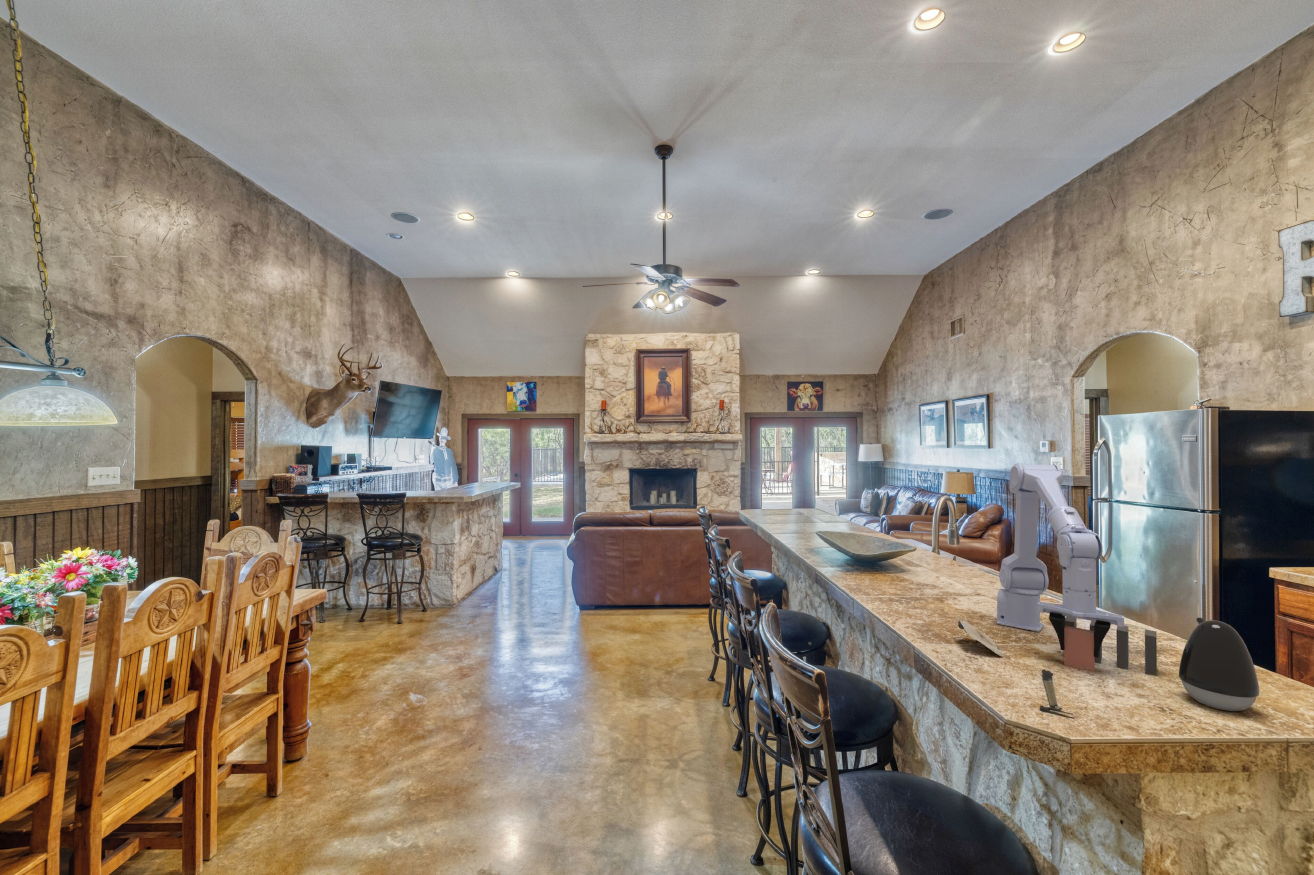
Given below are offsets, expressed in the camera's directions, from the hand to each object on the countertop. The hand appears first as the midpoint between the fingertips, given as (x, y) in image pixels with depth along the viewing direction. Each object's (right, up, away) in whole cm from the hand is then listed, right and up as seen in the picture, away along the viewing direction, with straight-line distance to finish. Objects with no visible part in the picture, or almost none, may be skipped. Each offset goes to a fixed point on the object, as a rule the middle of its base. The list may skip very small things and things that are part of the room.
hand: (1079, 652), depth 115 cm
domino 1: (+4, -3, +7) cm, 9 cm away
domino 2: (+7, -3, +4) cm, 9 cm away
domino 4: (+14, -3, -2) cm, 14 cm away
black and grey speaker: (+12, -3, -17) cm, 21 cm away
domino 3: (+10, -3, +1) cm, 11 cm away
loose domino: (0, -3, 0) cm, 3 cm away
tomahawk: (-15, -3, -14) cm, 20 cm away
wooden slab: (-15, -3, +11) cm, 19 cm away
